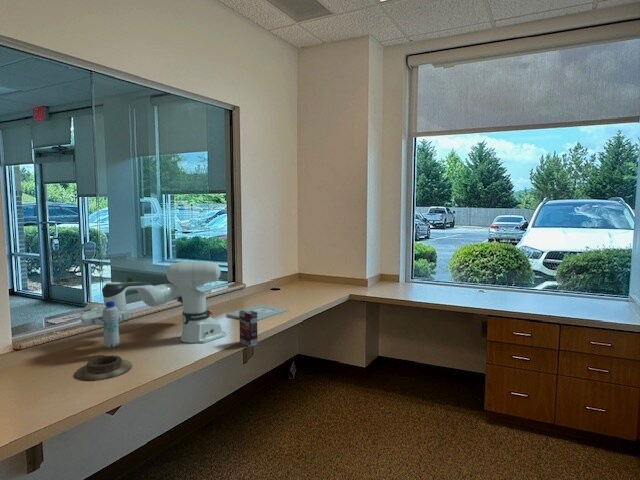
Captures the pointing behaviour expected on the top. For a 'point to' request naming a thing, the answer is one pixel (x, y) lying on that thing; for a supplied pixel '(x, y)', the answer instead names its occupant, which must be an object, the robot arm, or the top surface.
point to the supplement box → (248, 327)
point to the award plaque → (260, 312)
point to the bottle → (110, 324)
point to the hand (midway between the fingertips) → (111, 320)
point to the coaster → (103, 376)
